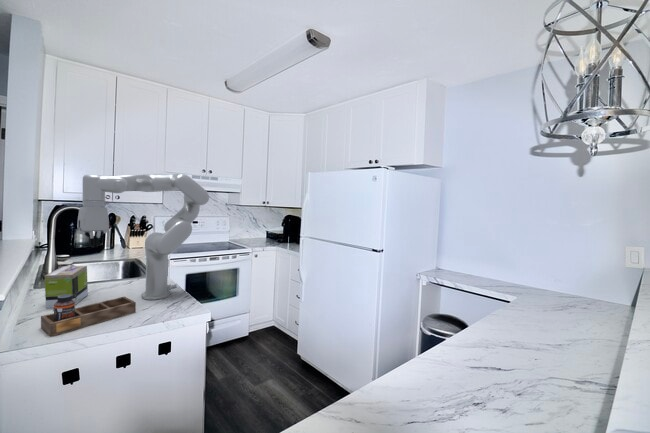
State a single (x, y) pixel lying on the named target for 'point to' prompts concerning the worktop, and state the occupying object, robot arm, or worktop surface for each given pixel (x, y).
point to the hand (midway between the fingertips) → (93, 246)
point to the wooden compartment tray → (89, 315)
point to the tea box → (66, 284)
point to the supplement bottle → (64, 308)
